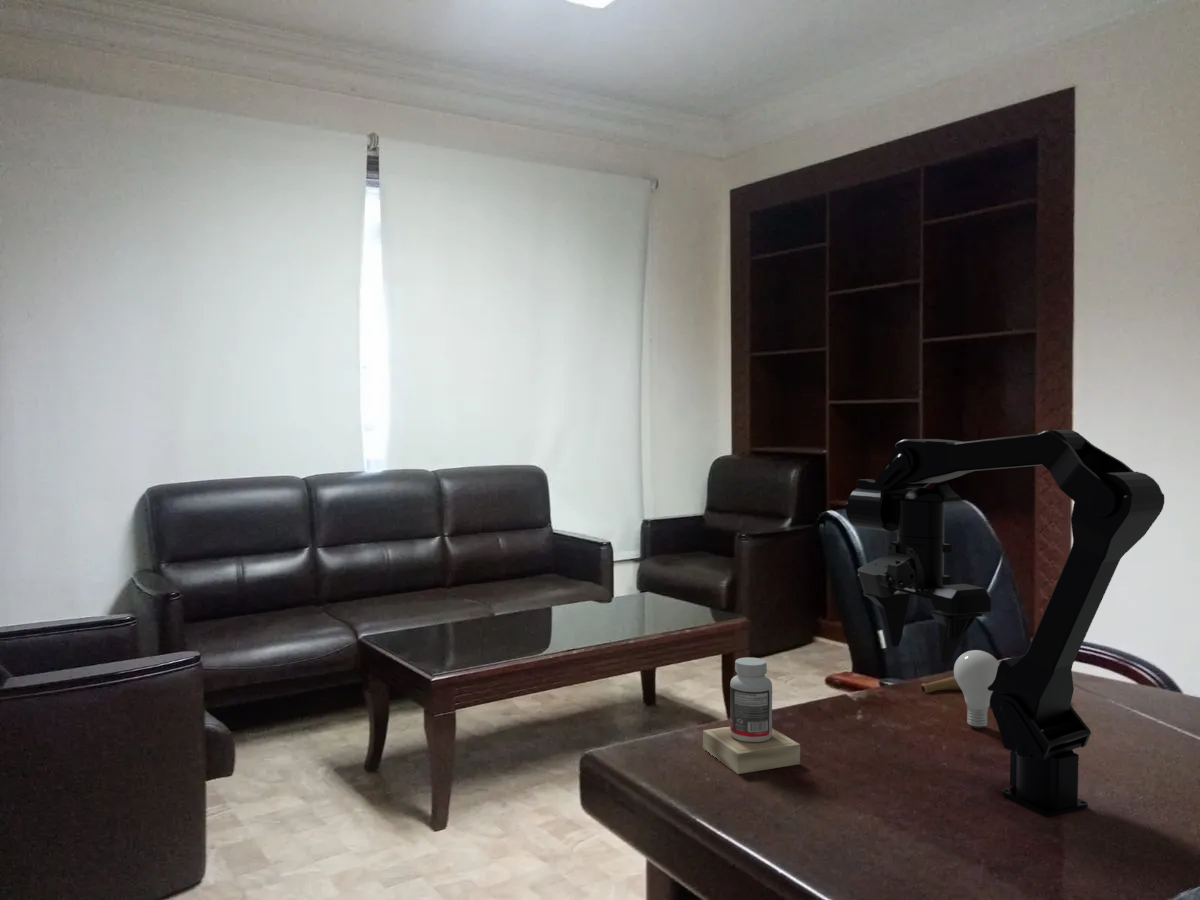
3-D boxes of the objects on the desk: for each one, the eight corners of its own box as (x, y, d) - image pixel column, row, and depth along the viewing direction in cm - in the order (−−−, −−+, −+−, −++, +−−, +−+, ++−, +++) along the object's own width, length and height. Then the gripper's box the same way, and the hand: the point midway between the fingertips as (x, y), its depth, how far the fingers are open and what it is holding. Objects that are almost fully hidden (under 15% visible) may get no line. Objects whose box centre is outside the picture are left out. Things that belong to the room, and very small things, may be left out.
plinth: (799, 764, 111) (800, 744, 111) (737, 774, 107) (738, 753, 107) (761, 740, 119) (761, 721, 119) (702, 749, 116) (703, 729, 116)
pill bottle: (736, 727, 117) (737, 654, 117) (776, 733, 114) (776, 658, 114) (724, 739, 112) (724, 663, 112) (766, 746, 110) (766, 668, 110)
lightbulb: (1009, 735, 121) (1010, 656, 121) (963, 735, 121) (964, 656, 121) (990, 720, 128) (991, 645, 127) (946, 719, 128) (947, 645, 128)
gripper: (825, 529, 119) (823, 643, 120) (922, 547, 102) (920, 680, 102) (891, 526, 124) (889, 636, 124) (995, 543, 106) (993, 671, 107)
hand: (918, 654), depth 114 cm, fingers open, 9 cm apart
